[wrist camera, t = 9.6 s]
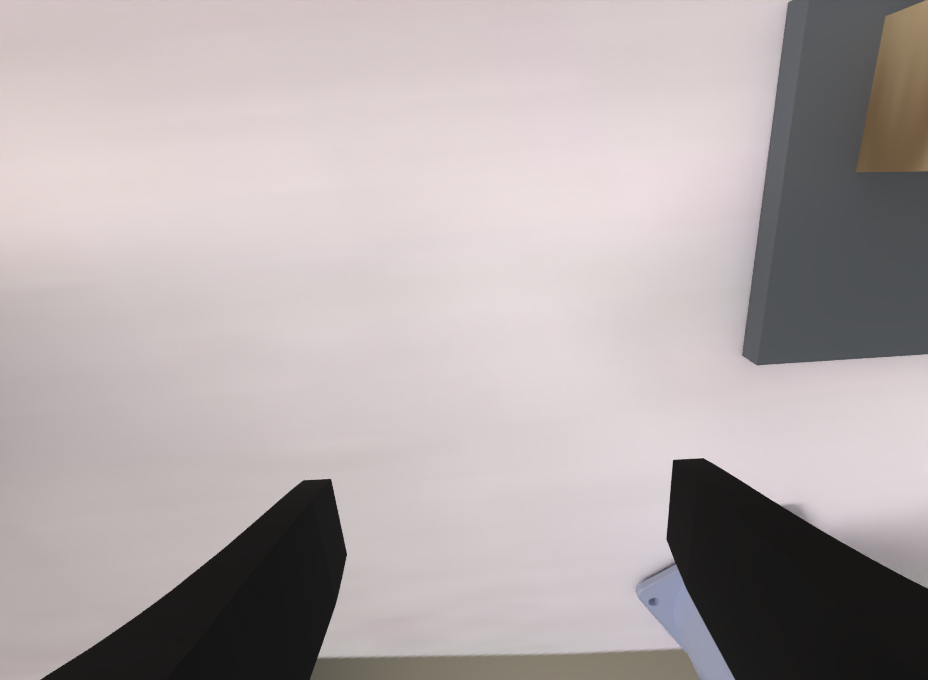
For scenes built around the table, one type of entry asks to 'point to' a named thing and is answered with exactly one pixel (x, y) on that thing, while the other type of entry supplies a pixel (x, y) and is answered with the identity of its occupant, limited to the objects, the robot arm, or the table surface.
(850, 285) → the pin plate
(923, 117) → the hollow block
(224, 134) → the table surface
